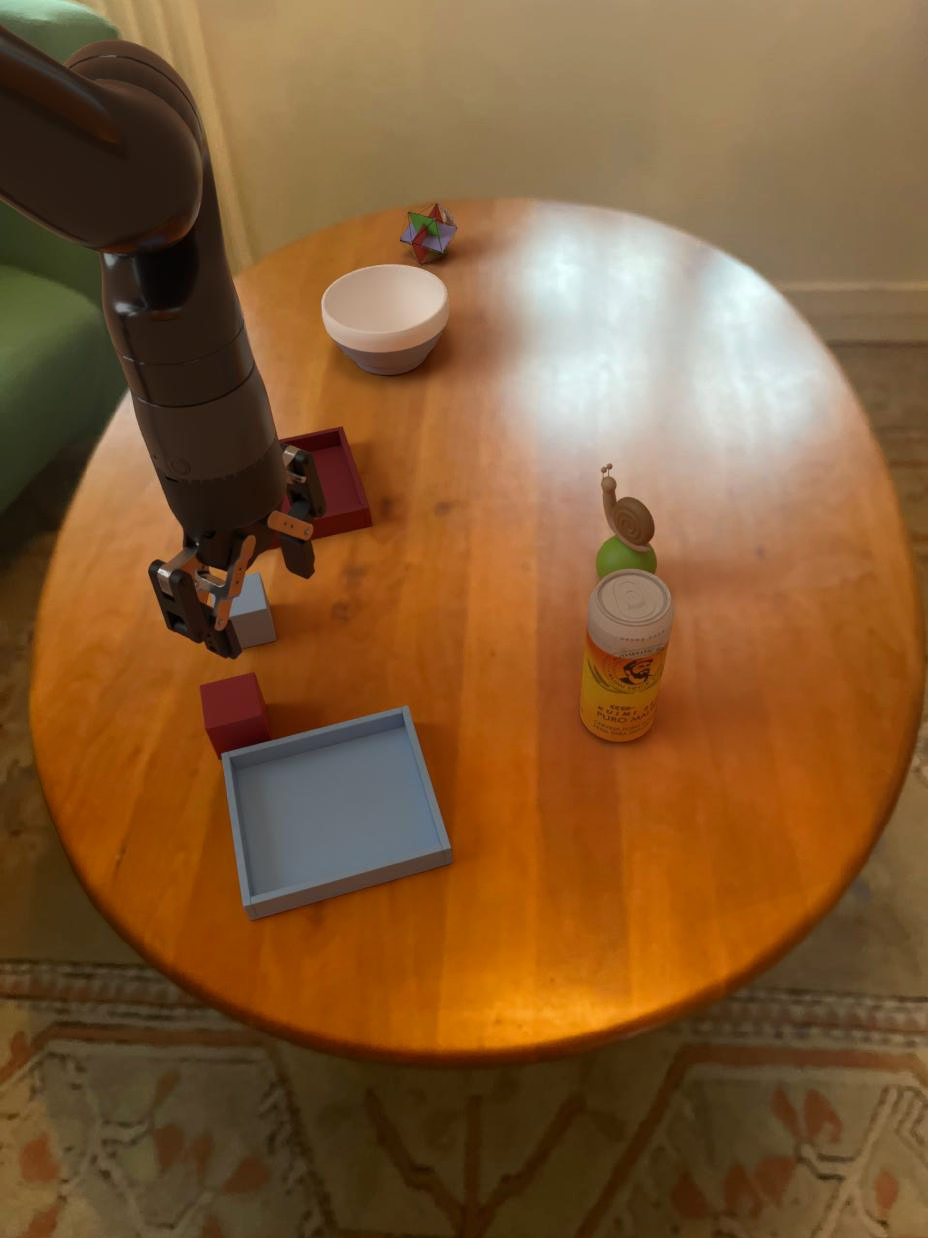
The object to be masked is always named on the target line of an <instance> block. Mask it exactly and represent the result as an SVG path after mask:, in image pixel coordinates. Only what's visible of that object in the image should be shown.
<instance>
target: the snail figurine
mask: <svg viewBox="0 0 928 1238" xmlns="http://www.w3.org/2000/svg"><path fill="white" fill-rule="evenodd" d="M613 467H614V466H613V464H612V463H609V462H608V463H607V464H606V466H602V467H601V468H600V472H601V473H602V479H601V482H600V487H601V490H602V505H603V512H604V516H605V518H606V522H607V525H608V527H609V529H611V531H612V532H613V533H614V534H615V535H612V536H611V537H609V538H608V539H606V540H605V541H604V542H603V543H602V545H601V546H600V548H599V549H598V551H597V554H596V557H595V568H596V569H595V570H596V572H597V575H598V577H599V579H600V581H601V580H602V579H603V578H604V577H605V576H607V575H608V574H610V573H612V572H615V571H618V570H622V569H638V570H643V571H646V572H649V573H651V574H653V575H655V574H656V571H657V566H658V560H657V559H658V558H657V554H656V552H655V549H654V547H653V546H652V544H651V543H650V542H651V541H652V540H653V538H654V536H655V531H656V525H655V520H654V517H653V515H652V513H651V511H650V510H649V509H648V507H647V506H646V505H645V504H644V503H643V502H642V501H641V500H639V499H637V498H636V497H632V496H624V497H621V498H619V499H618V500H617V494H616V490H617V487H618V486H617V485H618V483H617V480H616V479H615V478H614V477H612V476H610V470H612V469H613ZM605 473H607V476H604V475H605Z"/></svg>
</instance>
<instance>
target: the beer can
mask: <svg viewBox="0 0 928 1238" xmlns="http://www.w3.org/2000/svg"><path fill="white" fill-rule="evenodd" d="M671 595H672V594H671V592H670V590H669V588H668V586H667V584H666V583H665V582H664V581H663V580H662V579H661V578H660V577H659V576H657V575H655V574H654V575H653V574H651V573H649V572H646V571H643V570H638V569H622V570H618V571H615V572H612V573H610V574H608V575H607V576H605V577H604V578H603V579H602V580H601V579H600V581H599V583H598V584H597V586H596V587H595V588H594V589H593V591H592V592H591V594H590V596H589V600H588V607H587V618H586V619H587V620H586V629H585V630H586V631H585V642H584V652H583V665H582V675H581V686H580V695H579V697H580V698H579V706H578V707H579V715H580V716H579V717H580V719H581V721H582V723H583V725H584V726H585V727H586V728H587V730H588V731H590V732H591V733H592V734H594V735H595V736H597V737H599V738H600V739H603V740H606V741H609V742H616V743H617V742H618V743H621V742H630V741H633V740H636V739H638V738H640V737H642V736H643V735H644V734H646V733H647V732H648V731H649V729H650V728H651V727H652V724H653V722H654V719H655V713H656V711H657V710H656V709H657V704H658V699H659V694H660V689H661V684H662V679H663V673H664V668H665V663H666V657H667V653H668V647H669V643H670V638H671V633H672V629H673V623H674V617H675V610H676V609H675V603H674V600H673V598H672V596H671Z"/></svg>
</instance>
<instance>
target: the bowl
mask: <svg viewBox="0 0 928 1238" xmlns="http://www.w3.org/2000/svg"><path fill="white" fill-rule="evenodd" d="M449 298H450V297H449V294H448V289H447V286H446V285H445V284H444V282H443V280H442V279H440V278H439V277H438V276H437V275H435V274H434V273H432V272H430V271H429V270H426V269H423V268H420V267H417V266H412V265H407V264H397V263H395V264H394V263H393V264H388V263H386V264H385V263H384V264H378V265H370V266H366V267H361V268H358V269H356V270H353V271H350V272H349V273H348V272H347V273H346V274H344V275H342V276H341V277H339V278H337V279H336V280H334V281H333V282H332V283H331V284H330V285H329V286H328V287H327V288H326V290H325V292H324V293H323V294H322V298H321V300H320V302H321V303H320V304H321V305H320V306H321V318H322V321H323V325H324V328H325V331H326V332H327V334H328V335H329V336H330V337H331V339H332V341H333V342H334V343H335V345H337V346H338V347H339V349H341V351H342V352H343V353H344V354H345V356H347V357H348V358H349V359H351V360H352V361H354V363H355V364H356V365H357V366H358V367H359V368H361V370H363V371H365V372H367V373H370V374H374V375H379V376H380V375H381V376H393V375H394V376H395V375H401V374H405V373H408V372H410V371H412V370H415V369H417V368H418V367H419V366H420V365H422V364H423V363H424V362H425V360H426V358H427V356H428V355H429V354H430V352H431V351H432V350H433V349H434V347H435V346H436V345H437V344H438V341H439V338H440V337H441V336H442V333H443V331H444V330H445V327H446V325H447V322H448V320H449V315H450V299H449Z"/></svg>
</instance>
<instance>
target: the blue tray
mask: <svg viewBox="0 0 928 1238" xmlns="http://www.w3.org/2000/svg"><path fill="white" fill-rule="evenodd" d="M221 755H222V759H221V762H222V767H223V768H222V769H223V775H224V783H225V790H226V798H227V803H228V804H227V805H228V811H229V819H230V825H231V831H232V832H231V833H232V839H233V846H234V847H233V848H234V854H235V861H236V868H237V874H238V875H237V876H238V881H239V888H240V889H239V890H240V895H241V903H242V907H243V909H244V911H245V913H246V916H247V917H248V919H249V920H250V921H255V920H258V919H261V918H265V917H268V916H272V915H276V914H279V913H282V912H286V911H290V910H293V909H297V908H300V907H303V906H307V905H310V904H314V903H317V902H321V901H324V900H328V899H331V898H335V897H338V896H342V895H346V894H349V893H352V892H357V891H359V890H363V889H366V888H370V887H374V886H377V885H381V884H384V883H388V882H391V881H395V880H398V879H402V878H405V877H409V876H412V875H416V874H419V873H422V872H427V871H430V870H433V869H437V868H440V867H443V866H447V865H450V864H453V863H454V861H453V852H452V845H451V842H450V839H449V835H448V831H447V830H446V829H447V828H446V826H445V823H444V819H443V816H442V813H441V809H440V806H439V802H438V799H437V797H436V796H437V795H436V793H435V790H434V786H433V783H432V780H431V775H430V773H429V770H428V767H427V763H426V760H425V757H424V753H423V750H422V747H421V744H420V740H419V737H418V733H417V730H416V727H415V724H414V721H413V718H412V714H411V711H410V707H409V705H408V704H407V705H403V706H401V707H395V708H392V709H387V710H384V711H381V712H376V713H373V714H369V715H368V714H367V715H365V716H361V717H357V718H353V719H349V720H345V721H341V722H338V723H334V724H329V725H327V726H322V727H318V728H314V729H310V730H307V731H303V732H298V733H296V734H291V735H288V736H283V737H280V738H275V739H272V741H268V742H264V743H260V744H256V745H252V746H248V747H244V748H241V749H237V750H233V751H229V752H225V753H222V754H221Z"/></svg>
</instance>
